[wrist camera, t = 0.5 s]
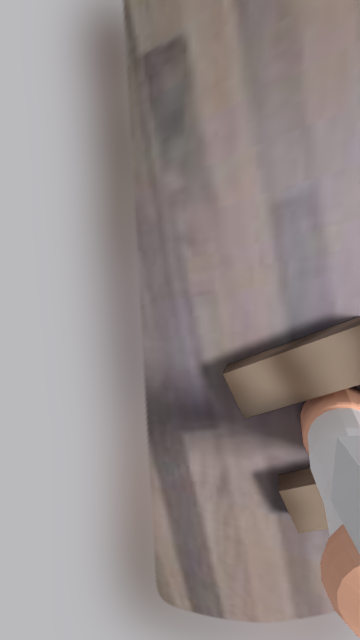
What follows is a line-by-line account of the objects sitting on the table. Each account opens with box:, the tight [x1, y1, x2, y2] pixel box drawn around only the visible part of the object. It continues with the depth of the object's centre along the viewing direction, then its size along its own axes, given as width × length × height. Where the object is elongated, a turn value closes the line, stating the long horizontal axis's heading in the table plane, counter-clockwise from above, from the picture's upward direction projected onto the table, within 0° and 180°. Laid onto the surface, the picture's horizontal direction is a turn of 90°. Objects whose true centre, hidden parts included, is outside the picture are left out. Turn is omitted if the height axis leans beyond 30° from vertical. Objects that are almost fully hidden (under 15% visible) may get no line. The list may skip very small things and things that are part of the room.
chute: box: [223, 317, 360, 533], centre depth 31 cm, size 13×18×2 cm
